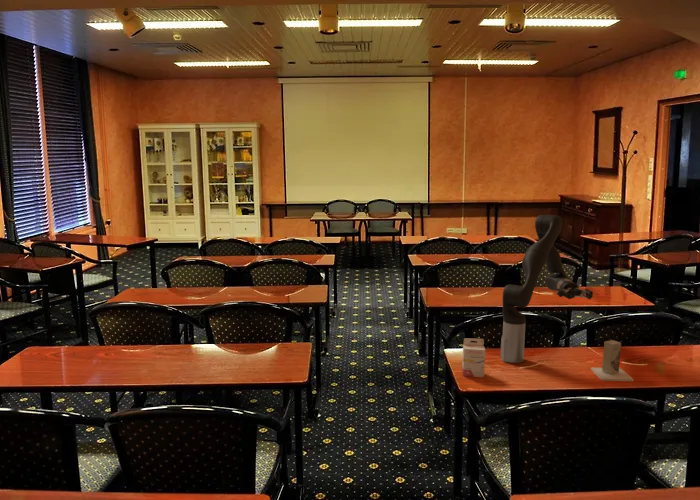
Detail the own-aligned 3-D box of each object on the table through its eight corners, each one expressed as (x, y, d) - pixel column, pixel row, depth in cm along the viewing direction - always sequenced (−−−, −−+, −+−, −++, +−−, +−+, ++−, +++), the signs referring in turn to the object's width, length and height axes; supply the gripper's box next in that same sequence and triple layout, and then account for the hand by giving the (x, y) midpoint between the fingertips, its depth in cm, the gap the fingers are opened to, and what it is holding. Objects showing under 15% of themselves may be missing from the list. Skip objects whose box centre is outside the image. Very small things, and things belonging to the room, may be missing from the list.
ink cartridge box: (463, 376, 225) (464, 341, 222) (461, 371, 230) (462, 337, 227) (484, 377, 224) (486, 342, 222) (482, 372, 229) (484, 338, 226)
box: (610, 375, 224) (613, 344, 222) (601, 371, 227) (603, 341, 225) (619, 372, 226) (621, 342, 224) (610, 369, 230) (612, 339, 228)
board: (602, 380, 220) (602, 378, 220) (590, 369, 232) (591, 367, 232) (633, 381, 219) (633, 379, 219) (620, 369, 231) (620, 368, 231)
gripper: (552, 280, 255) (563, 288, 239) (584, 280, 254) (597, 288, 238) (551, 296, 256) (562, 305, 240) (582, 296, 256) (596, 305, 240)
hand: (580, 297), depth 239 cm, fingers open, 8 cm apart
